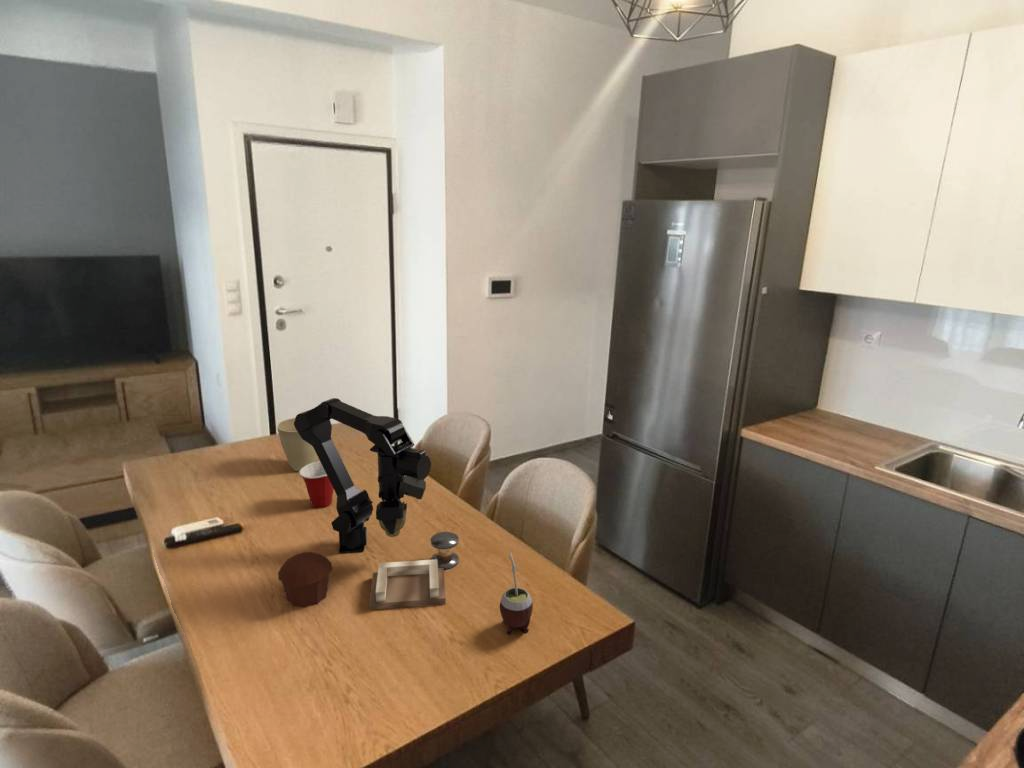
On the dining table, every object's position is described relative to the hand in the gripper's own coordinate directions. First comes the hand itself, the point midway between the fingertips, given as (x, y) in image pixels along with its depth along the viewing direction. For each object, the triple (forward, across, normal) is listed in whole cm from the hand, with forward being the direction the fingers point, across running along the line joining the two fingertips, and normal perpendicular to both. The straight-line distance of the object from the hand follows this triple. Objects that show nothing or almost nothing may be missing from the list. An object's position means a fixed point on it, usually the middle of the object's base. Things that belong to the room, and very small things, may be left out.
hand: (392, 527), depth 147 cm
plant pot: (+10, +61, +33) cm, 70 cm away
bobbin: (+10, -2, -13) cm, 16 cm away
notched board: (+10, -13, -4) cm, 17 cm away
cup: (+2, 0, 0) cm, 2 cm away
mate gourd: (+10, -28, -27) cm, 40 cm away
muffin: (+10, -12, +19) cm, 25 cm away
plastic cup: (+10, +33, +23) cm, 41 cm away
